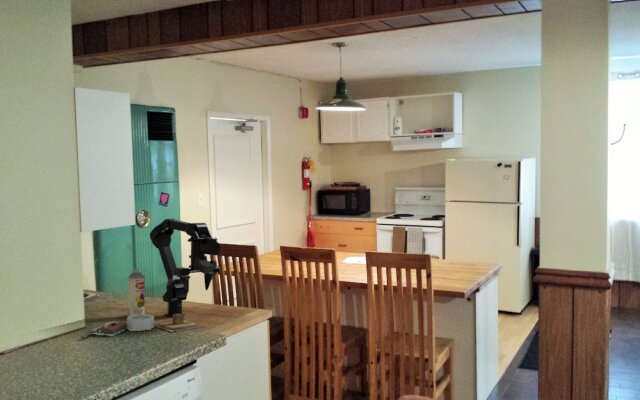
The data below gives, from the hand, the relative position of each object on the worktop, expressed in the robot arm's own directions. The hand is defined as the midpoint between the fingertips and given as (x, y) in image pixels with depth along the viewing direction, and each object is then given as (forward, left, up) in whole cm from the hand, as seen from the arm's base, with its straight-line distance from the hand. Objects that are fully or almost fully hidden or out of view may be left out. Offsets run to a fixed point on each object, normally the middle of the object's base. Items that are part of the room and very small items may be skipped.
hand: (197, 291), depth 234 cm
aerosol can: (-23, -15, -12) cm, 30 cm away
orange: (-1, -25, -9) cm, 26 cm away
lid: (+6, -13, -12) cm, 18 cm away
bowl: (-1, -25, -12) cm, 27 cm away
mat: (+6, -13, -12) cm, 18 cm away
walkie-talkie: (-2, -38, -13) cm, 40 cm away
